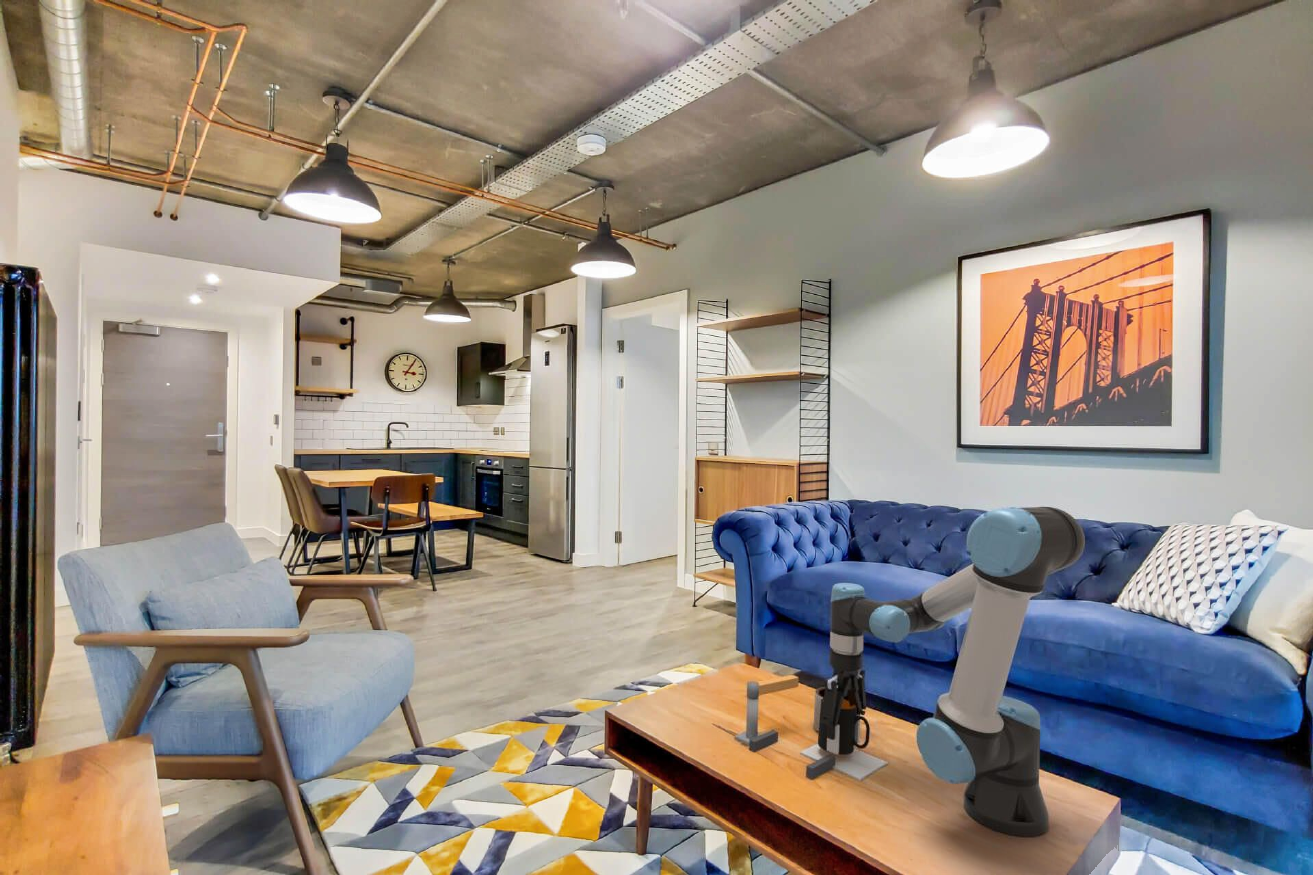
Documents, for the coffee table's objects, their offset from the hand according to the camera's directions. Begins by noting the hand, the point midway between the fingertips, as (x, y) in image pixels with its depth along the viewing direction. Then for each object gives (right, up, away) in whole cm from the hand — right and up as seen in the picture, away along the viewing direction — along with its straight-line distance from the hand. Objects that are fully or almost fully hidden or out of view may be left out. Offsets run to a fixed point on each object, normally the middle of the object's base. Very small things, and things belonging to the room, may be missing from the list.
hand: (843, 746), depth 154 cm
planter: (+2, -3, +15) cm, 16 cm away
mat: (0, -3, 0) cm, 3 cm away
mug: (0, -1, 0) cm, 1 cm away
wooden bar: (-15, +8, +12) cm, 21 cm away
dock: (-14, -3, +2) cm, 15 cm away
